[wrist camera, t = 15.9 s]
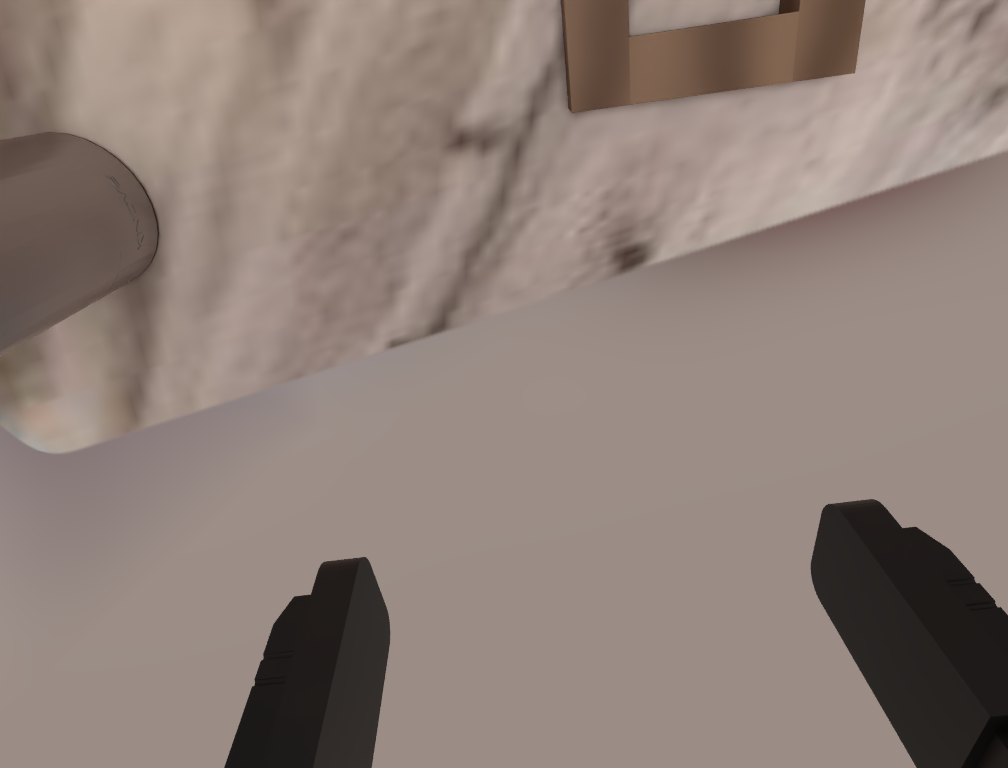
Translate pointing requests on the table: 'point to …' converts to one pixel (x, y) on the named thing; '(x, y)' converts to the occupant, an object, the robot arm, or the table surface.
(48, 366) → the table surface
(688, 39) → the frame
